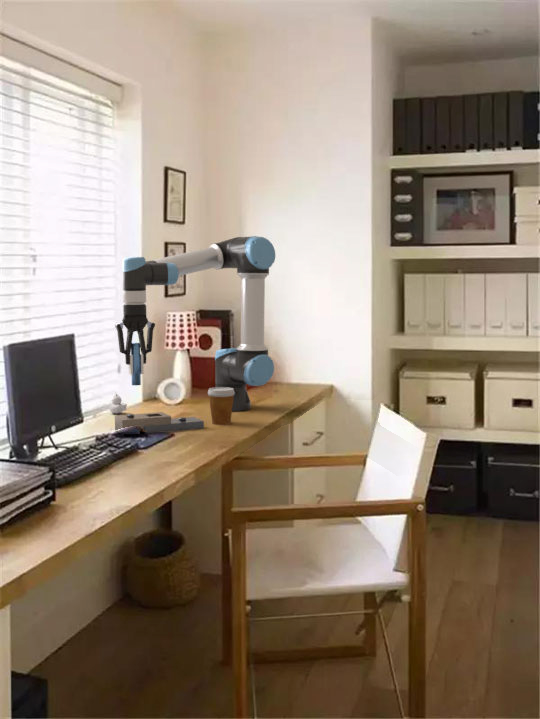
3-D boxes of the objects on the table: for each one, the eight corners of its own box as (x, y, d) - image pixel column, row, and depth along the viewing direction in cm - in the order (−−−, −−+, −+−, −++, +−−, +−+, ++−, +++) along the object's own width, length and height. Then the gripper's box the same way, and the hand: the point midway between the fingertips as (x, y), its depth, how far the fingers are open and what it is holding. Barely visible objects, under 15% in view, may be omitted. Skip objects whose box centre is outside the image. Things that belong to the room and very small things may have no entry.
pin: (139, 383, 294) (138, 342, 293) (141, 385, 292) (141, 343, 290) (130, 384, 293) (129, 342, 292) (133, 385, 290) (132, 343, 289)
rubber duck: (112, 412, 325) (112, 391, 324) (129, 412, 324) (129, 391, 323) (107, 414, 320) (106, 393, 319) (124, 415, 318) (123, 393, 317)
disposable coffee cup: (239, 421, 306) (239, 387, 304) (229, 426, 297) (228, 391, 295) (214, 420, 309) (213, 386, 307) (203, 424, 300) (203, 390, 298)
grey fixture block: (194, 423, 301) (194, 407, 300) (203, 428, 293) (203, 411, 292) (115, 430, 289) (114, 413, 289) (122, 435, 281) (122, 417, 280)
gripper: (154, 302, 296) (156, 371, 299) (108, 303, 290) (109, 373, 292) (161, 303, 289) (162, 373, 292) (113, 304, 283) (115, 376, 285)
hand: (136, 373), depth 292 cm, fingers closed on pin, 3 cm apart
